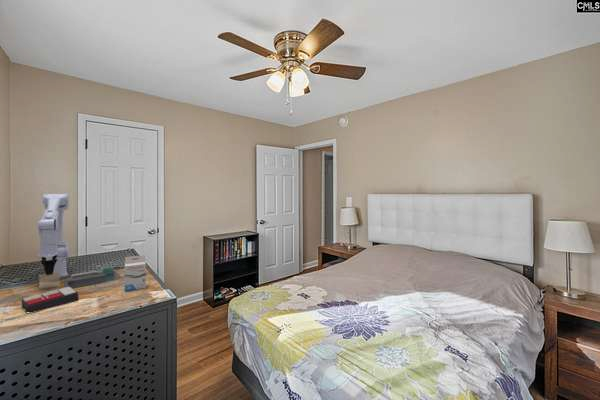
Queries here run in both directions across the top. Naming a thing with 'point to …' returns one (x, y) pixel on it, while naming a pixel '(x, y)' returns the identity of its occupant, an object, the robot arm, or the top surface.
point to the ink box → (135, 273)
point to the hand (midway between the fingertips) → (49, 272)
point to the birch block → (49, 280)
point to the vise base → (90, 280)
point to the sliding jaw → (95, 272)
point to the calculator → (49, 299)
